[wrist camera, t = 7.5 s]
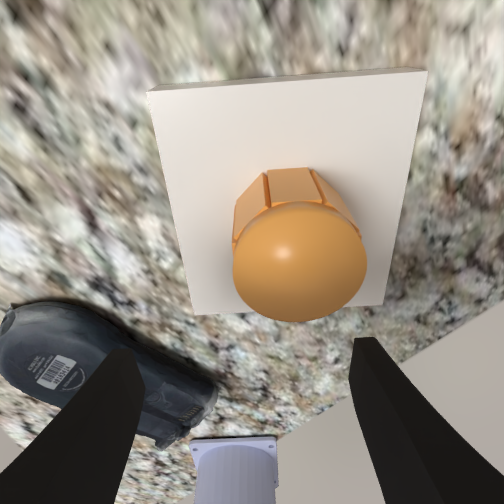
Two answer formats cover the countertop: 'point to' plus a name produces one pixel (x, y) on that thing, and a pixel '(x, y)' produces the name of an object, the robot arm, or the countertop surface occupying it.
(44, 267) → the countertop surface
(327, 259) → the orange acorn nut
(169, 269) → the countertop surface
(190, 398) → the electronic device
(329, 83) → the white base plate
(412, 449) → the robot arm
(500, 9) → the countertop surface
